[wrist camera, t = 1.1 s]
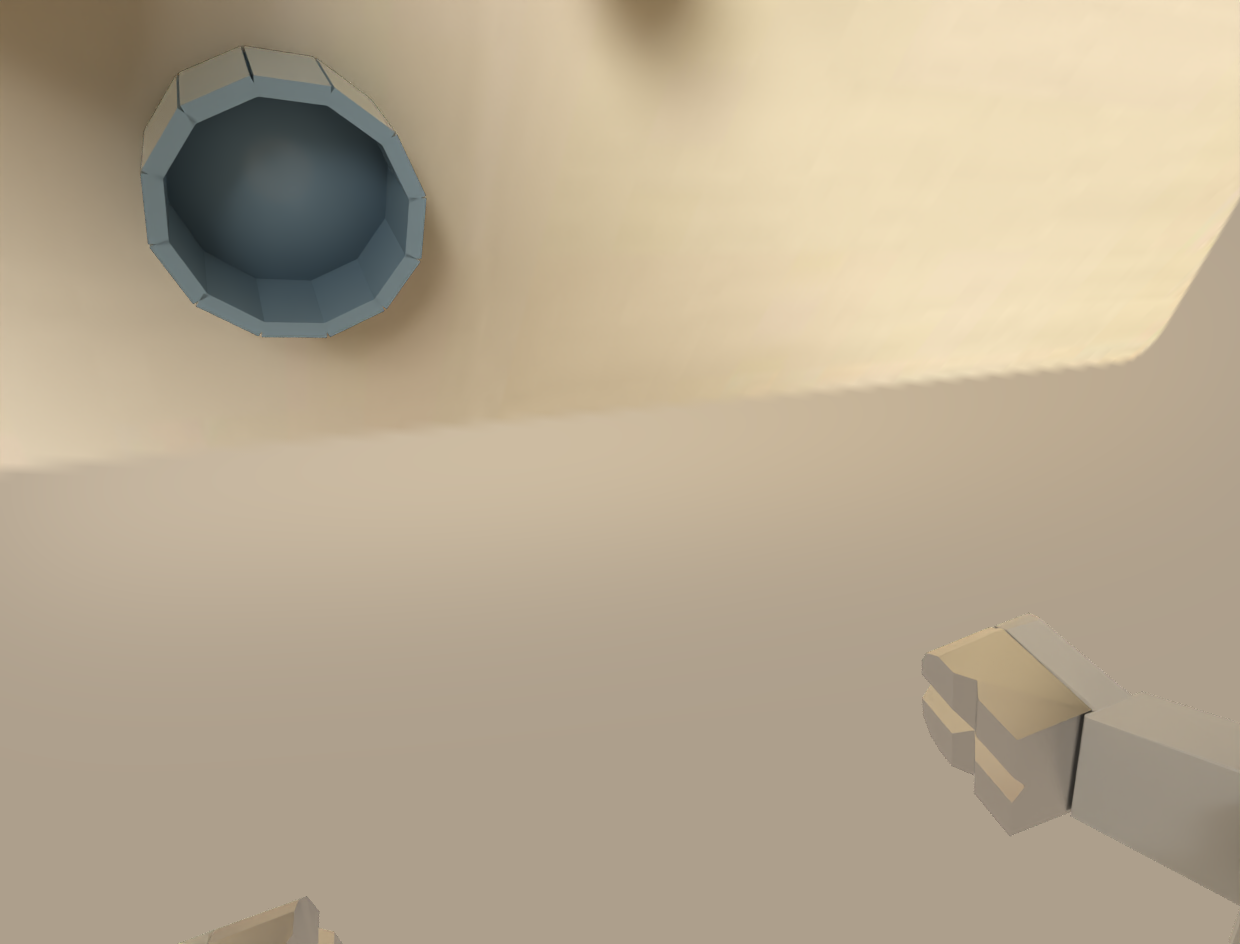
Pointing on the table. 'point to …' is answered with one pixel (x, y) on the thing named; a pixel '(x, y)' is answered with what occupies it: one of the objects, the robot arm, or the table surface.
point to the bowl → (279, 195)
